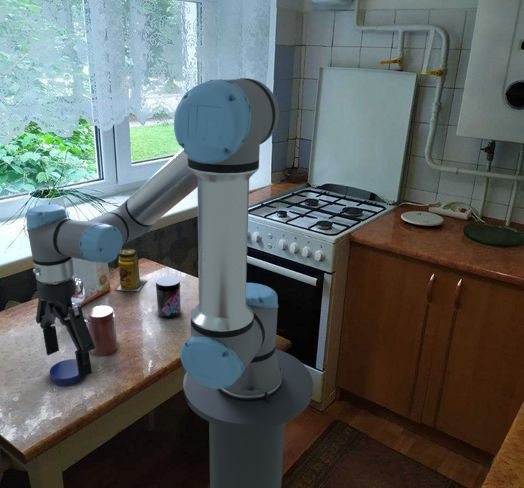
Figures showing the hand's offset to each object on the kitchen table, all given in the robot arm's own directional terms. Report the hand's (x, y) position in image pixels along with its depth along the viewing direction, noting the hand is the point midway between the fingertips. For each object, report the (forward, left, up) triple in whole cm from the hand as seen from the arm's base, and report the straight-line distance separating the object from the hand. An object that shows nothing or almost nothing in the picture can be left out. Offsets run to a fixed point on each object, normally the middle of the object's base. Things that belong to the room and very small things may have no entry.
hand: (68, 363), depth 112 cm
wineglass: (+21, -15, -4) cm, 26 cm away
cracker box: (+32, -25, -4) cm, 41 cm away
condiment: (+29, -39, -4) cm, 49 cm away
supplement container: (+6, -35, -4) cm, 36 cm away
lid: (+1, 0, -2) cm, 2 cm away
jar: (+4, -12, -3) cm, 13 cm away
